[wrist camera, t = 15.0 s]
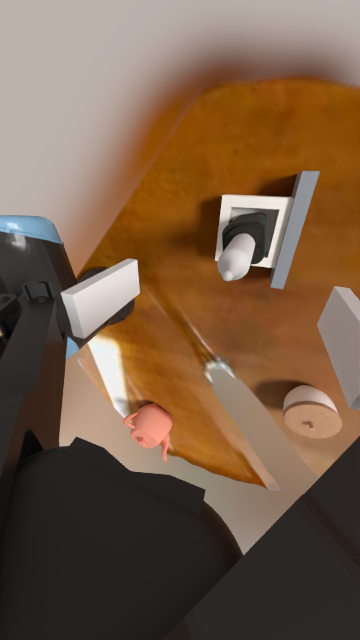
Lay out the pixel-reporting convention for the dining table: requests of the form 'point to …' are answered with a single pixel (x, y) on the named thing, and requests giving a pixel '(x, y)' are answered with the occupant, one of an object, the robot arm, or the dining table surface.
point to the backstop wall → (294, 225)
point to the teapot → (150, 427)
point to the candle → (242, 245)
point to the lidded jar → (311, 413)
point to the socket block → (276, 221)
